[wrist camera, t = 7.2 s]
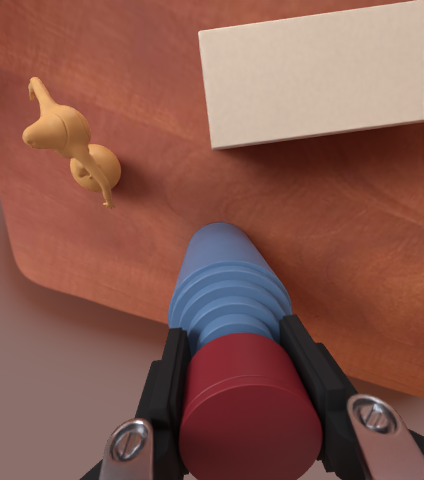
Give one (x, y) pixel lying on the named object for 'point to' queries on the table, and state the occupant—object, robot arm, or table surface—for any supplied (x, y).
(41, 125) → the figurine
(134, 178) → the table surface
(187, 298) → the bottle
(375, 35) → the cream lidded box
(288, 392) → the cap
